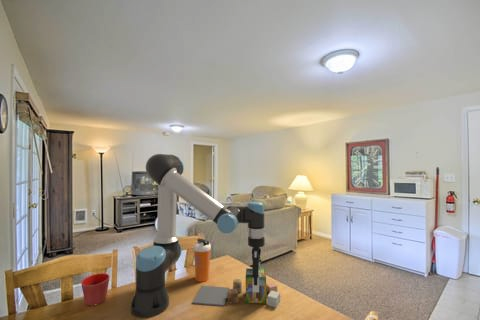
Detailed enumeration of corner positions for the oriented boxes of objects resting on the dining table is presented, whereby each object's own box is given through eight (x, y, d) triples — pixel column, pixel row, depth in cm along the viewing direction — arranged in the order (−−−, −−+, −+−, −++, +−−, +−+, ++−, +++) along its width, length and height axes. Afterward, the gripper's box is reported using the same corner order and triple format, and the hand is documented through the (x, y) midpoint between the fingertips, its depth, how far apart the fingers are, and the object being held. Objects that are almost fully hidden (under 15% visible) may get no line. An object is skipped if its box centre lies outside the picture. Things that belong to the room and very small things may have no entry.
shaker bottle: (202, 273, 131) (202, 236, 131) (214, 277, 125) (214, 239, 126) (189, 279, 123) (190, 241, 124) (202, 284, 118) (202, 244, 118)
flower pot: (75, 309, 98) (75, 286, 98) (88, 295, 108) (88, 273, 108) (103, 307, 99) (103, 284, 99) (113, 293, 110) (113, 272, 110)
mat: (192, 303, 102) (192, 302, 102) (201, 286, 116) (201, 285, 116) (224, 306, 101) (224, 304, 101) (229, 288, 114) (229, 287, 114)
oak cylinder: (232, 293, 110) (232, 282, 110) (233, 289, 114) (233, 278, 114) (240, 294, 110) (241, 283, 110) (241, 289, 114) (242, 279, 114)
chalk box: (266, 304, 102) (266, 270, 102) (245, 303, 103) (245, 269, 103) (265, 292, 111) (265, 261, 111) (246, 292, 112) (246, 260, 112)
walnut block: (228, 303, 103) (229, 294, 103) (228, 298, 107) (228, 289, 107) (238, 302, 103) (238, 293, 103) (236, 297, 107) (236, 288, 107)
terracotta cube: (269, 296, 108) (269, 287, 108) (265, 291, 112) (265, 283, 112) (277, 294, 110) (277, 285, 110) (272, 290, 114) (272, 281, 114)
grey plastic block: (267, 305, 102) (267, 295, 102) (271, 299, 106) (271, 290, 106) (276, 307, 100) (276, 298, 100) (280, 301, 104) (280, 292, 104)
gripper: (263, 246, 94) (264, 300, 94) (264, 229, 119) (265, 271, 119) (245, 245, 95) (245, 298, 95) (250, 228, 120) (250, 270, 120)
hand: (256, 283), depth 107 cm, fingers open, 13 cm apart
